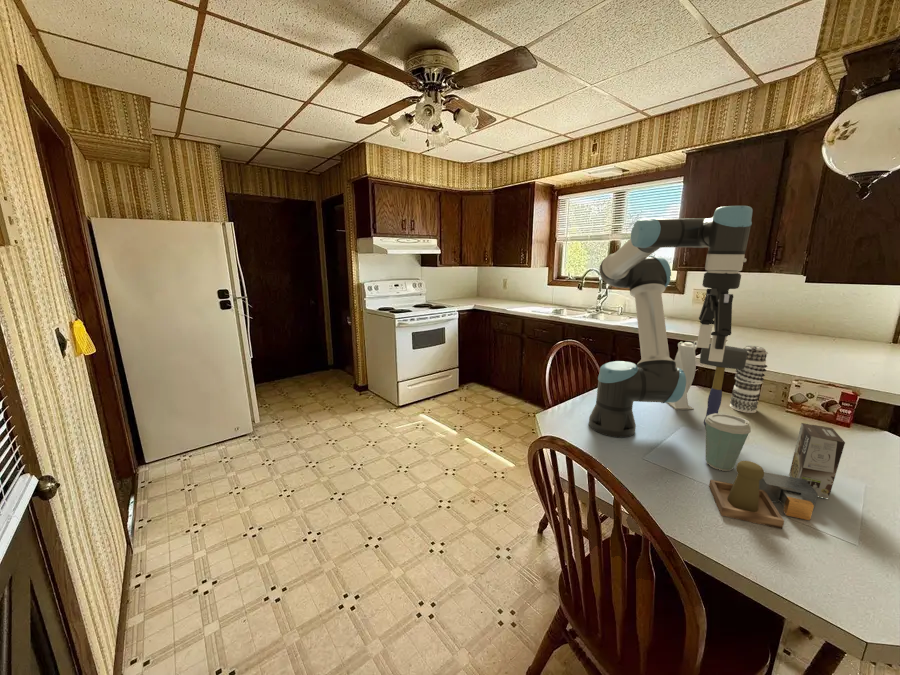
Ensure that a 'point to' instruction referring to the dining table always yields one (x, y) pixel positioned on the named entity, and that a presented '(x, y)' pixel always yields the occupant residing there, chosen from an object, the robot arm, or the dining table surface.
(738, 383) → the white patterned cylinder
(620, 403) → the robot arm
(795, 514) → the orange and gray block
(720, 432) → the disposable coffee cup
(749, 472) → the cork
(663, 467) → the dining table surface
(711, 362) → the rubber mallet
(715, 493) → the tray
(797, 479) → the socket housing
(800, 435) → the coffee box
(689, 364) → the skyscraper
